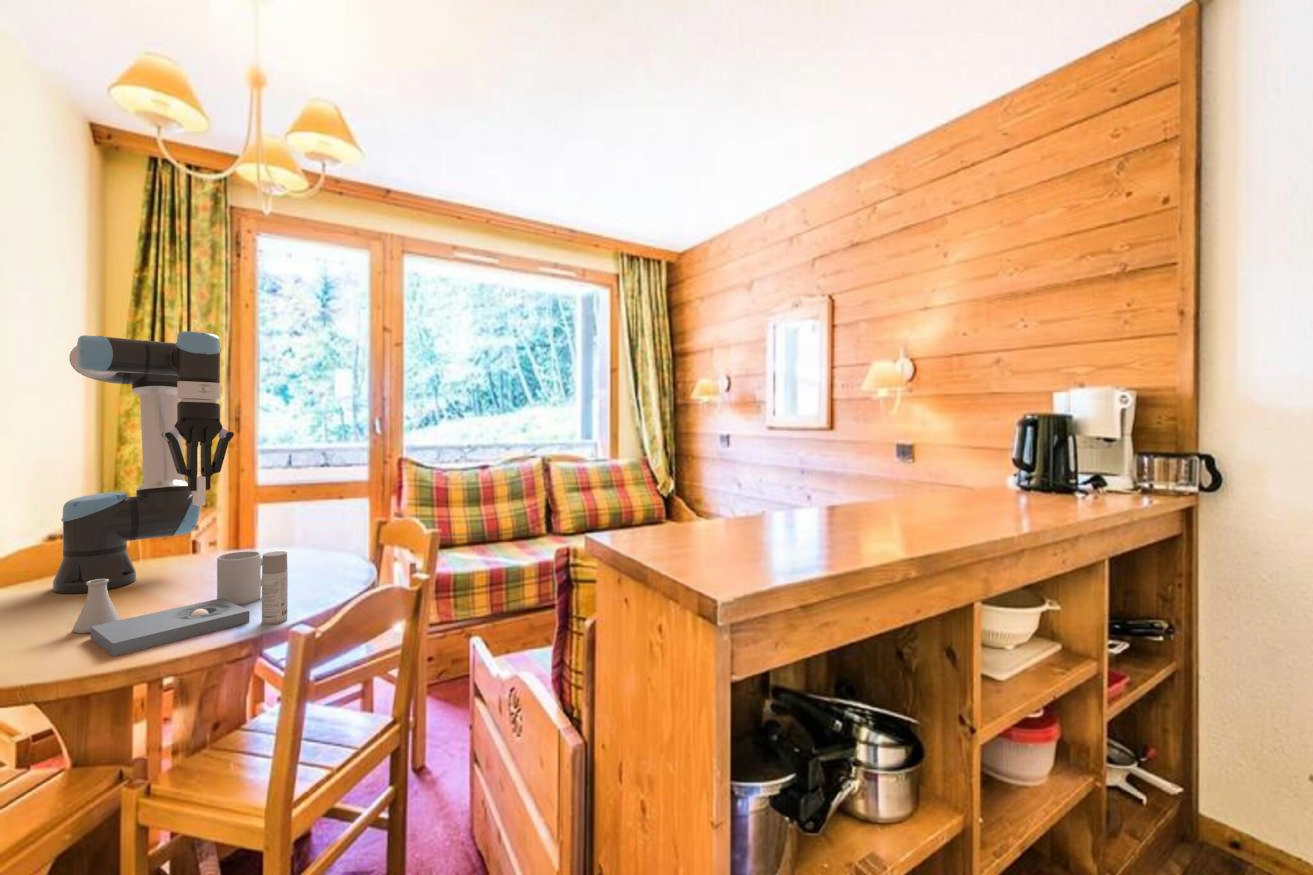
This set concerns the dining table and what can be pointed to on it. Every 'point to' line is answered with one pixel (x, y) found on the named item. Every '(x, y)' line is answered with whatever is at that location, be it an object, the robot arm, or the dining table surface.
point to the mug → (239, 577)
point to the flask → (96, 607)
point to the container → (274, 587)
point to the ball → (200, 612)
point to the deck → (166, 626)
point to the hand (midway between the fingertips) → (199, 504)
